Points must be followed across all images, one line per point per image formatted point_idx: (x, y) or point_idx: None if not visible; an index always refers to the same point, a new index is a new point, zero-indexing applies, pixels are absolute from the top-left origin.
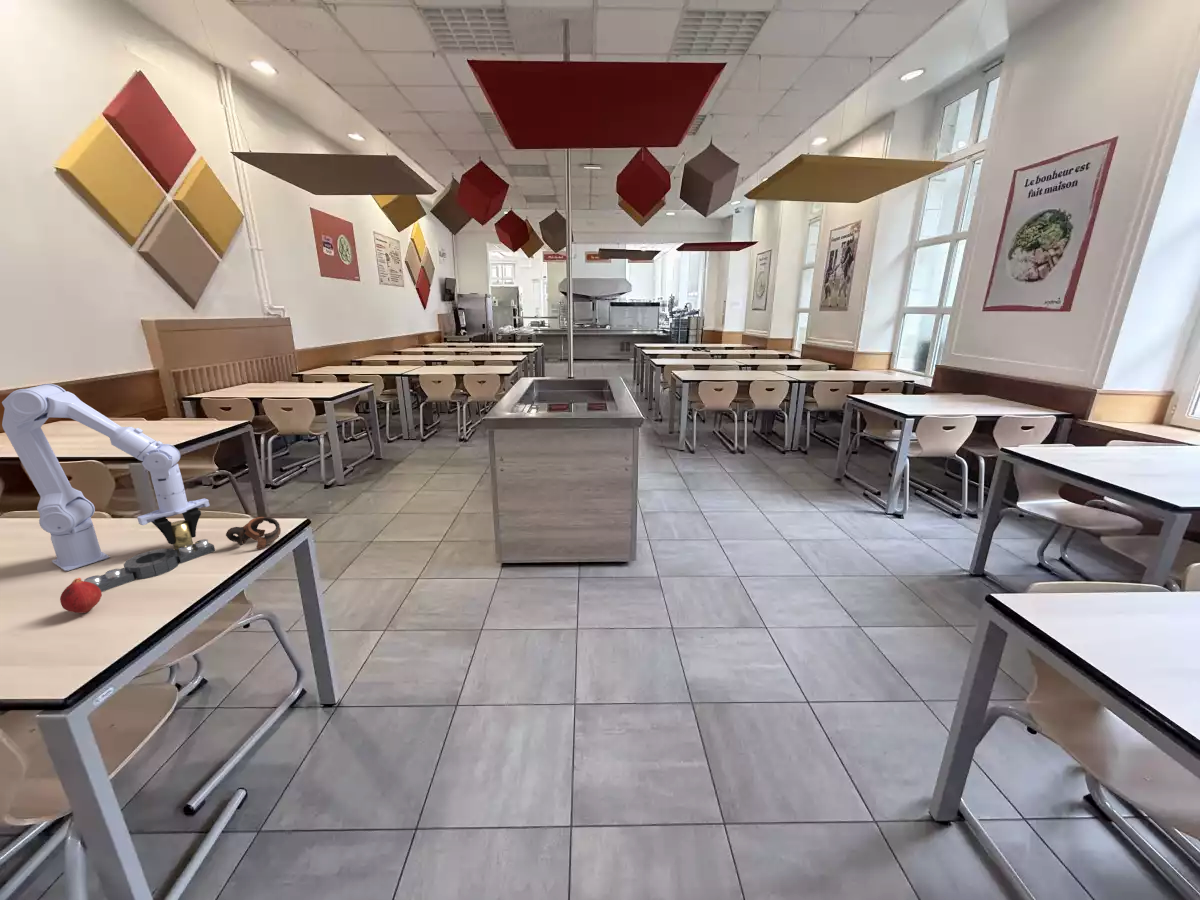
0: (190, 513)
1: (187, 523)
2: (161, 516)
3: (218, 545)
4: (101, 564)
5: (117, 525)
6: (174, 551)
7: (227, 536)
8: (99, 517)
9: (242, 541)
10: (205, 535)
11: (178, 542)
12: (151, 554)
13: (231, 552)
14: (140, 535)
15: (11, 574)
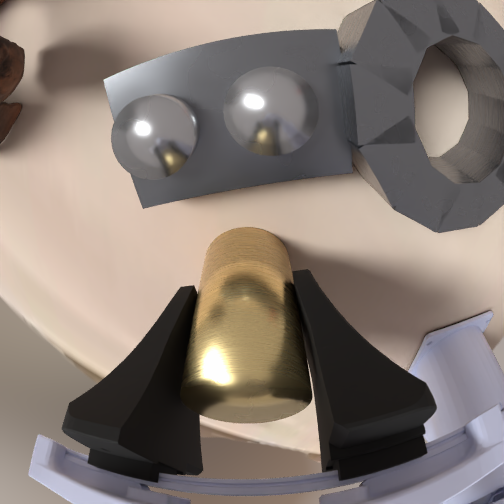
0: (130, 453)
1: (185, 377)
2: (408, 492)
3: (102, 158)
4: (456, 305)
5: (311, 439)
6: (363, 70)
7: (5, 43)
8: (311, 453)
9: (13, 105)
10: (154, 321)
11: (275, 267)
12: (446, 178)
13: (75, 11)
14: (308, 407)
15: (492, 349)
